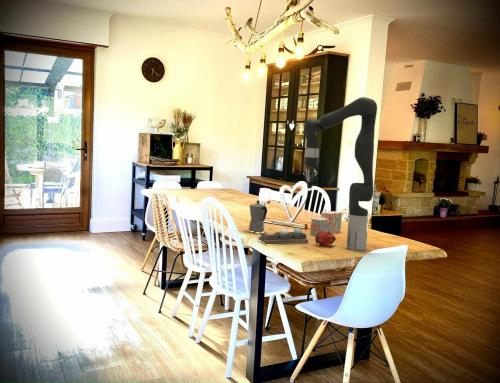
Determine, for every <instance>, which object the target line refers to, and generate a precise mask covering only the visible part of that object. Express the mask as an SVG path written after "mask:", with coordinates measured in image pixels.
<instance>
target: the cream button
mask: <svg viewBox="0 0 500 383" xmlns="http://www.w3.org/2000/svg"><path fill="white" fill-rule="evenodd" d="M279 232H280V234H281V235H287V234H288V233H289V229H288V228H280V229H279Z"/></svg>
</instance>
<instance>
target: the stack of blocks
mask: <svg viewBox="0 0 500 383" xmlns="http://www.w3.org/2000/svg"><path fill="white" fill-rule="evenodd" d="M342 216H343V212H340V211H335V210H332V211H331V210H329V211H321V213H320V217H313V218H311V222H310V233H309V234H310V235H312V236H315V235H316V234H317V233H318V232H319V231H321V232H323V231H325V232H328V231H329V232H330V234H333V235H334V234H340V233H341V231H342V230H341V229H342V228H341V227H342V219H343V218H342Z"/></svg>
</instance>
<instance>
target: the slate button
mask: <svg viewBox="0 0 500 383" xmlns="http://www.w3.org/2000/svg"><path fill="white" fill-rule="evenodd" d="M292 232H293V233H294V234H302V233H303V229H302V228H297V227H296V228H293V231H292Z"/></svg>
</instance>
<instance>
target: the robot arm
mask: <svg viewBox="0 0 500 383" xmlns="http://www.w3.org/2000/svg"><path fill="white" fill-rule="evenodd" d="M377 113H378V104H377V102H376V101H375V100H374V99H372V98H369V97H366V96H361V97H358V98H356V99H355V100H353V101H351V102H349V103H348V104H346V105H344V106H343V107H340V108H339V109H337V110H334V111H332V112H329V113H326V114H324V115H322V116H321V117H320V118H319V119H313V118H311V119H310V118H309V119H308V120H306V121H305V123H304V128H303V130H304V136H305V151H304V161H303V162H304V163H303V164H304V166H305V169H303V171H302V172H303V175H304V179H305V180H306V182H307V185H306V187H307V188H306V189H312V188H313V182H314V181H315V180H316V179H317V177H318V175H319V171H317V168H316V167H317V166H318V165H319V159H320V158H319V157H320V156H319V155H320V154H319V153H320V149H319V148H320V147H319V146H320V139H319V137H317V135H316V134H318V133H322V132H323V131H326V130H327V129H329V128H332V127H333V126H338V125H339V124H341V123H342V122H344V121H345V120H347V119H349V118H352V117H355V116H360V117H361V126H360V130H359V133H358V135H357V137H356V140H355V144H354V158H355V161H356V163H357V164H358V166H359V168H360V171H361V172H362V175H363V176H362V177H363V182H352V183H351V184H350V187H349V190H348V192H349V193H348V194H349V195H348V221H347V233H346V246H345V248H346V249H349V250H352V251H366V250H367V242H368V241H367V240H368V231H367V229H368V217H369V210H368V209H367V208H364V207H363V206H361V205H360V203H359V202H371V200H372V199H373V196H374V176H373V175H374V173H373V171H374V165H373V164H374V154H375V152H374V151H375V129H376V128H375V127H376V120H377Z"/></svg>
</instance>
